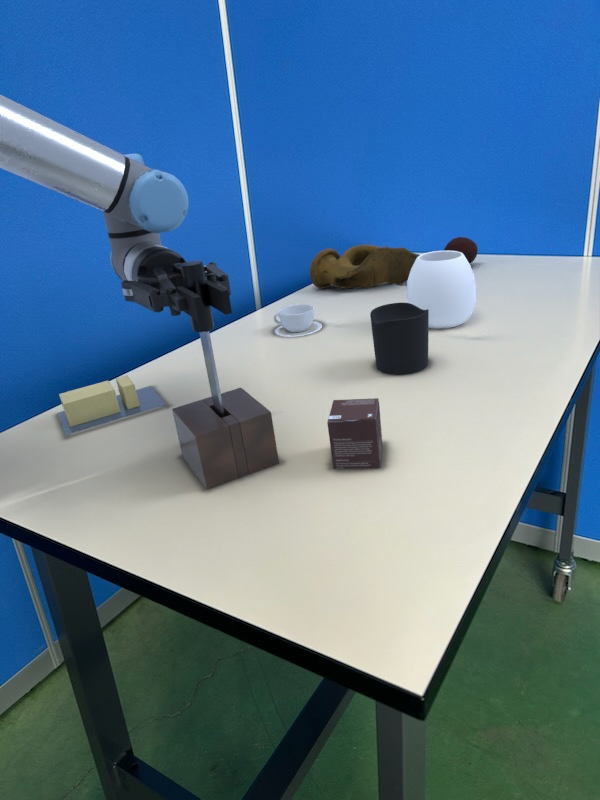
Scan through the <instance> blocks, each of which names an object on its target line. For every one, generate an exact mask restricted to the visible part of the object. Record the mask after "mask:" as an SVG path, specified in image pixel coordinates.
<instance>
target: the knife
mask: <svg viewBox="0 0 600 800" xmlns="http://www.w3.org/2000/svg"><path fill="white" fill-rule="evenodd" d="M203 266H204V262H203V261H202V260H199V259H198V260H189V261H186V262H184V263H182V264H180V267H181V272H182V277H183V283H184V287H185V288H187V289H188V290H190V291H192V292H194V293H195V294H197V295H199V296H200V297H201V302H202V307H203V312H204V318H205V320H204V321H200V322H198V321H197V320H195V319H194V318H192V317H191V316H190V315H189V318H190V323H191V327H192V332H195V333H199V338H200V342H201V348H202V352H203V358H204V363H205V364H204V365H205V369H206V374H207V379H208V384H209V385H208V386H209V390H210V394H211V397H212V401H213V406H214V411H215V413H216V414H217V415H218V416H219V417H220V418H223V417H225V414H224V408H223V403H222V398H221V393H222V392H221V388H220V382H219V377H218V371H217V366H216V360H215V355H214V350H213V343H212V339H211V333H210V331H211V330H213V329H214V328H215V324H214V317H213V312H212V306H210V300H209V295H208V289H207V284H206V278H205V273H204V267H203Z"/></svg>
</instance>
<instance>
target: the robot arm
mask: <svg viewBox="0 0 600 800" xmlns="http://www.w3.org/2000/svg"><path fill="white" fill-rule="evenodd" d="M0 169H2V170H3V171H4V170H5V171H7V172H8V173H11V174H14V175H16V176H19V177H21V178H24V179H26V180H27V181H31V182H33V183H35V184H38V185H39V186H43V187H45V188H47V189H49V190H50V191H54V192H56V193H58V194H60V195H63V196H66V197H68V198H70V199H73V200H74V201H78V202H80V203H83V204H84V205H87V206H89V207H92V208H94V209H96V210H99V211H101V212H102V216H103V219H104V222H105V227H106V230H107V234H108V241H109V244H110V248H111V249H110V253H109V261H110V265H111V267H112V270H113V271H114V273H115V275H116V276H117V277H118V279H120V280H121V282H120V286H121V289H122V294H123V297H124V302H128V303H134V304H135V303H136V304H138V305H139V306H141V307H143V308H145V309H147V310H149V311H152V312H153V313H161V312H164V310H165V309H164V308H166V307H168V309H169V313H170V316H172V317H177V316H180V315H181V314H182V312H184V313H185V314H187V315H188V316H189V317H190V316H191V317H192V318H194V319H195V320H197V321H198V322H200V321H204V320H205V318H204V312H203V307H202V302H201V297H200V296H199V295H197V294H195V293H194V292H192V291H190V290H188V289H187V288H185V287H184V283H183V277H182V272H181V267H180V264H182V263H184V262H187V260H185V258H184V257H183V256H182V255H181V254H180V253H178V252H176V251H175V250H173V249H170V248H168V247H167V246H163V245H162V241H161V240H162V239H161V235H160V233H168V232H171V231H173V230H175V229H177V228H179V226H180V225H182V223H183V222H184V220H185V219H186V217H187V216H188V211H189V195H188V192H187V190H186V187H185V186H184V185H183V183H182V182H181V180H179V179H178V178H177V177H176V176H174V174H171V173H169V172H166V171H164V170H162V169H153V168H150V167H149V166H146V165H145V162H144V158H143V157H142V155H141V154H139V153H128V154H122V153H120V152H119V151H116V150H114V149H112V148H110V147H108V146H107V145H104V144H103V143H100V142H98V141H96V140H94V139H92V138H90V137H88V136H86V135H83V134H82V133H79V132H77V130H76V131H75V130H74V129H72V128H70V127H68V126H65V125H63V124H61V123H59V122H57V121H55V120H53V119H51V118H50V117H47V116H45V115H43V114H41V113H39V112H37V111H34V110H33V109H31V108H28V107H27V106H25V105H22V104H21V103H19V102H16V101H14V100H12V99H10V98H8V97H6V96H4V95H2V94H0ZM203 267H204V273H205V278H206V284H207V289H208V295H209V300H210V306H211V308H214V309H215V310H217V311H218V312H221V314H224V315H225V316H228V315H230V314H231V315H232V314H233V310H232V303H231V298H230V296H231V295H232V291H231V286H230V284H231V283H230V278H229V275H228V274H227V272H224V271H223V270H221V269H220V268H219V267H218V265H217V262H214V261H210V262H208V263H207V264H203Z"/></svg>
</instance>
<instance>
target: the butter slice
mask: <svg viewBox="0 0 600 800" xmlns="http://www.w3.org/2000/svg"><path fill="white" fill-rule="evenodd" d="M115 381H116V386H117V389H118V393H119V395H120V397H121V400H122V401H123V403H124V404H125V406H126V407H127V409H131V408H135V407H138V406H140V404H139V401H138V397H137V393H136V390H137V389H136V385H135V383H134V382H133V381H132V379H131V378H130V376H129V375H128V374H126V375H122V376H119V377H116V378H115Z"/></svg>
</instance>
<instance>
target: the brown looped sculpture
mask: <svg viewBox="0 0 600 800" xmlns="http://www.w3.org/2000/svg"><path fill="white" fill-rule="evenodd" d="M420 255H421V254H418V253H414V252H412V251H410V250H409V249H407V248H406V247H404V246H403V247H390V246H383V247H382V246H378V245H374V244H373V245H372V244H358V245H354V246H352V247H349V248H348V249H346V250H345V251H344V252H343V253H342V254H341V255H340V254H339V252H338V251H337V250H336V249H334V248H326V249H323V250H321V251H319V252H318V253H316V255H315V256H314V257H313V259H312V260H311V263H310V268H309V277H310V280H311V283H312V284H313V286H314V287H316V288H318V289H321V290H322V289H326V288H329V287H330V286H334V287H335V288H340V289H353V288H362V289H363V288H364V289H370V288H373V287H374V286H378V285H382V284H394V285H397V286H399V285H402V284H404V283H406V282H407V281H408V277H409V274H410V271H411V268H412V266H413V264H414V262H415V260H416V258H417V257H418V256H420Z"/></svg>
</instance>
